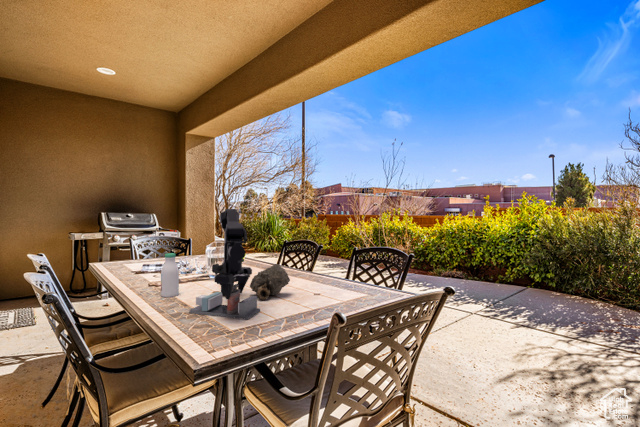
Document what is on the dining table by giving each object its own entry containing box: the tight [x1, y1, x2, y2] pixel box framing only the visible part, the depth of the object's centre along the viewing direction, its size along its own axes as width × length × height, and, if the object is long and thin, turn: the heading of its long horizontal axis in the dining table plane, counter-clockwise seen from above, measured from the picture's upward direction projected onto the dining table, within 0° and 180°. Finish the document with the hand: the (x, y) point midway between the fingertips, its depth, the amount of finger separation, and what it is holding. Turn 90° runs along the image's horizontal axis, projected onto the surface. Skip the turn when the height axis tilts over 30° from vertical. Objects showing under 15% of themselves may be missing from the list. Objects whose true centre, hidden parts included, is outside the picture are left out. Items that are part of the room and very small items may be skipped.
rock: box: [249, 263, 291, 301], centre depth 147 cm, size 18×14×15 cm
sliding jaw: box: [195, 291, 223, 311], centre depth 126 cm, size 10×8×5 cm
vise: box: [188, 295, 261, 321], centre depth 124 cm, size 10×26×6 cm, turn 75°
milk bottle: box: [160, 252, 180, 298], centre depth 148 cm, size 8×8×20 cm
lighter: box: [226, 283, 241, 313], centre depth 123 cm, size 8×3×10 cm, turn 169°
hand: (234, 296), depth 123 cm, fingers open, 9 cm apart
